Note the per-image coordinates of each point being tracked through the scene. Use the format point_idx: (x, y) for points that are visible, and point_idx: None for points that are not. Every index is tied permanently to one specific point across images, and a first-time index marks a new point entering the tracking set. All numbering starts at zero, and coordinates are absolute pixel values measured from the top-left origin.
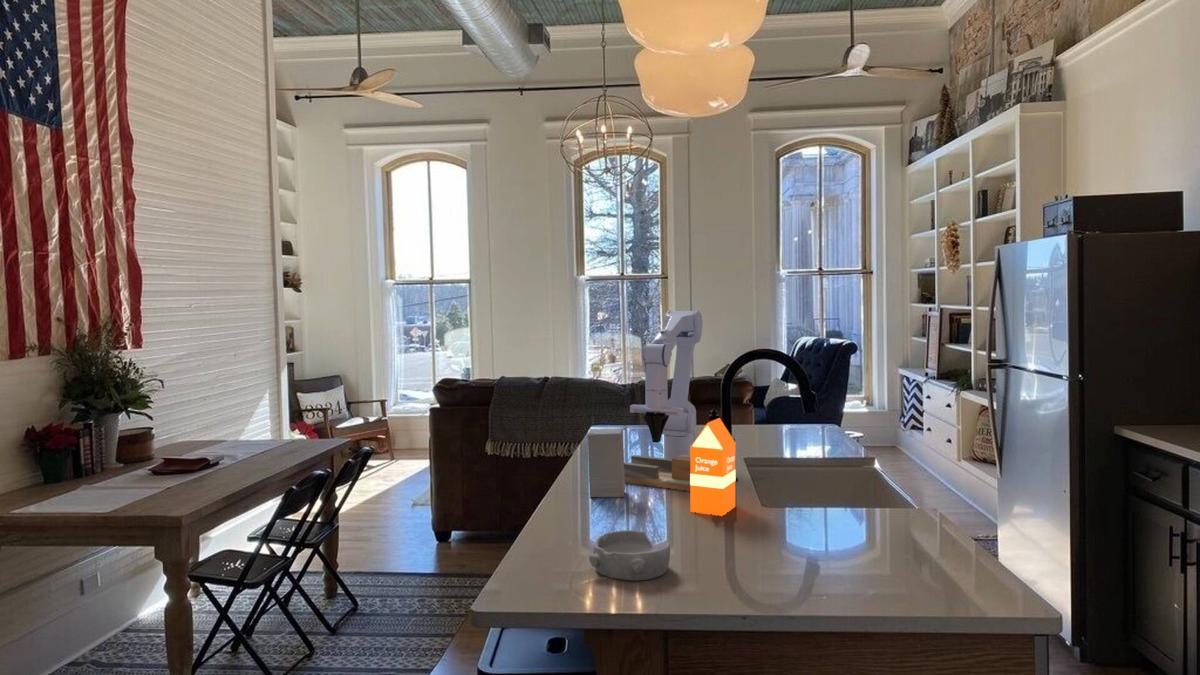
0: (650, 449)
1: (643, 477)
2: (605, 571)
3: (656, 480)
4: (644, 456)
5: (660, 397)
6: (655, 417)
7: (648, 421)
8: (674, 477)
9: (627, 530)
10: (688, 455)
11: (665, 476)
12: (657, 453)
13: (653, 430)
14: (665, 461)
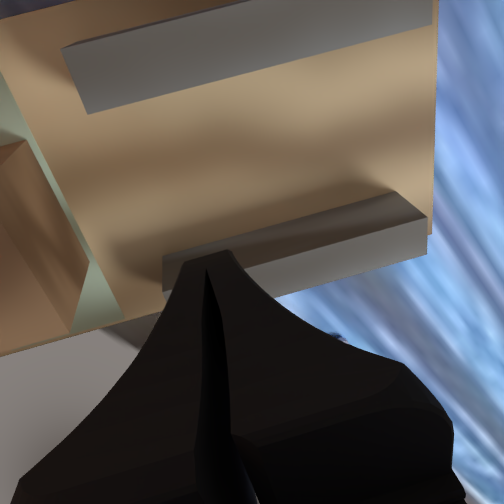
0: (496, 455)
1: (166, 18)
2: None
3: (50, 25)
4: (360, 265)
5: None
6: (111, 487)
7: (301, 365)
8: (6, 147)
9: None
10: (16, 346)
11: (105, 159)
12: None
13: (222, 318)
14: None
